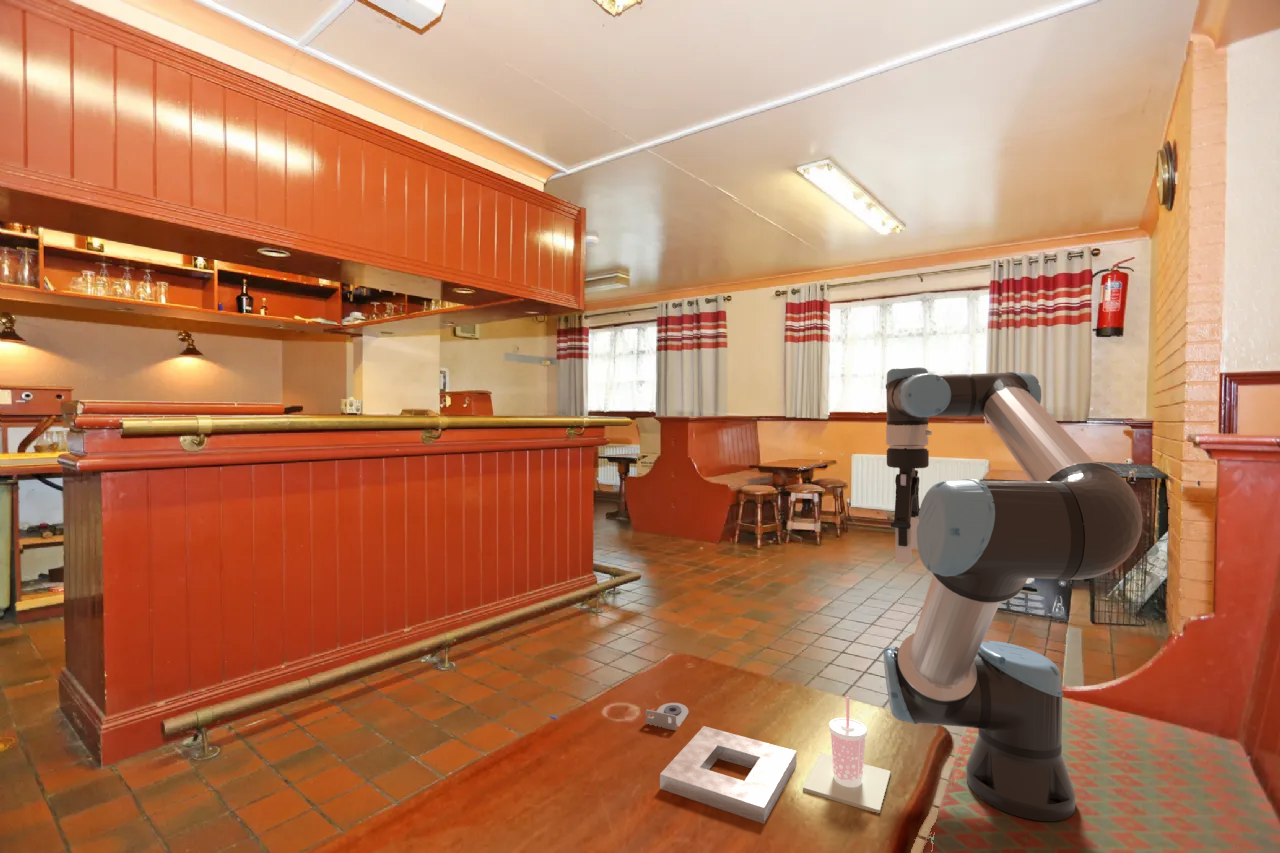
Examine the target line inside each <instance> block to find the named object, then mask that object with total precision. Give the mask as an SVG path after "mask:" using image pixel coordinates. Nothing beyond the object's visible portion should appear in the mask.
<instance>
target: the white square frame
mask: <svg viewBox="0 0 1280 853" xmlns="http://www.w3.org/2000/svg"><path fill="white" fill-rule="evenodd" d="M718 760H720V761H721V760H722V761H725V762H727V763H731V764H733V765H734V764H735V765H739V766H741V767H745V768H749V769H751V770H750V772H749V773H748V774H747V776H746V777H745V779H744V780H743V779H739V778H736V777H733V776H729V775H726V774H723V773H719V772H716V771H713V770H710V769H711V768H712V767H713V765H714V764H715V763H716V762H717V761H718ZM797 763H798V762H797V750H794V749H791V748H787V747H783V746H780V745H776V744H772V743H769V742H764V741H761V740H757V739H753V738H749V737H747V736H742V735H739V734H734V733H731V732H727V731H724V730H721V729H716V728H712V727H708V726H705V725H703V726H701V728H700V730H699V731H698V732H697V733H695V735H694V736H693V737H692V738H691V739H690V740H689V742H688V743H687V744H686V745H685V746H684V747H683V748H682V749H681V750H680V751H679V753H678V754H677V755H676V756H675V757H674V758H673V759H672V760H671V761H670V762H669V763H668V765H666V767H665V768H664V769H663V770H662V771H661V772H660V774H659V789H660V790H662V791H666V792H668V793H671V794H674V795H678V796H680V797H684V798H687V799H689V800H692V801H694V802H698V803H701V804H704V805H707V806H710V807H712V808H715V809H719V810H722V811H724V812H727V813H730V814H733V815H737V816H740V817H742V818H746V819H747V820H750V821H754V822H757V823H760V824H762V825H764V824H765V823H766V821H767V819H768V818H769V816H770V815H771V813H772V810H773V808H774V807H775V805H776V803H777V801H778V800H779V798H780V796H781V794H782V793H783V790H784V789H785V787H786V785H787V783H788V781H789V780H790V777H791V776H792V774H793V772H794V771H795V769H796V767H797Z"/></svg>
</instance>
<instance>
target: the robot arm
mask: <svg viewBox="0 0 1280 853" xmlns="http://www.w3.org/2000/svg"><path fill="white" fill-rule="evenodd" d="M1039 383H1040V382H1039V379H1038V378H1037V376H1035V375H1034V374H1032V373H1027V372H1025V373H1024V372H1016V371H1015V372H1014V371H1013V372H1012V371H1011V372H1010V371H1009V372H994V373H993V372H992V373H989V372H987V373H951V374H950V373H948V374H947V373H946V374H943V373H942V374H941V373H940V374H934V373H932V372H929V371H928V369H927V368H925V367H917V366H915V367H913V366H911V367H910V366H907V367H897V368H891V369H889V370H888V371H887V373H886V383H885V390H886V394H885V395H886V427H885V429H886V430H885V432H886V434H885V436H886V438H885V442H886V445H887V446H889V447H888V448H887V449H886V466H888V468H892V469H893V468H894V469H896V468H897V469H899V470H898V473H897V474H896V475H895V480H894V482H895V501H894V518H893V522H890V528H893V529H894V535H895V536H894V537H895V538H894V540H895V541H894V542H895V546H894V547H895V548H894V550H895V551H894V555H895V556H894V558H895V563H899V564H908V565H911V564H913V563H912V559H913V558H912V556H913V555H912V554H913V553H912V550H918V555H919V558H920V560H921V563H922V565H923V566H924V568H926V570H927V571H929V572H931V575H932V576H931V579H930V583H929V586H928V589H927V593H926V596H925V598H924V601H923V602H924V603H923V605H922V608H921V612H920V614H919V619H918V621H917V625H916V629H915V631H914V633H913V634H911V635H909V636H907V637H905V639H904V640H903V641H902V643H901V644H900V646H899V647H898V646H891V647H888V646H887V647H886V648H884V650H883V666H884V674H885V684H886V690H887V697H888V703H889V707H890V708H889V709H890V712H891V715H892V716H893V717H894V719H896V720H897V721H900V722H906V723H911V724H914V725H918V724H924V725H925V724H926V725H937V726H946V727H947V726H949V727H960V728H974V729H978V730H977V732H978V733H977V734H978V736H977V738H976V740H975V743H974V745H973V748H972V751H971V752H970V755H969V757H968V760H967V762H966V783H967V784H968V787H969V788H970V789H971V790H972V792H973V793H974V794H975V795H976V796H977V797H978V798H980V800H982V801H984V802H986V803H987V804H989V805H990V806H992V807H994V808H996V809H998V810H1000V811H1002V812H1004V813H1007V814H1010V815H1013V816H1016V817H1018V818H1021V819H1022V818H1023V819H1027V820H1032V821H1036V822H1037V821H1039V822H1057V821H1063V820H1066V819H1069V818H1070V817H1072V816H1073V815H1074V813H1075V811H1076V792H1075V788H1074V786H1073V783H1072V781H1071V778H1070V774H1069V771H1068V769H1067V766H1066V764H1065V760H1064V757H1063V754H1062V752H1063V751H1062V748H1063V746H1062V744H1063V743H1062V742H1063V741H1062V740H1063V739H1062V738H1063V736H1062V733H1063V732H1062V731H1063V730H1062V729H1063V723H1062V722H1063V697H1064V691H1063V687H1062V686H1063V685H1062V674H1061V670H1060V668H1059V667H1058V666H1057V664H1056V663H1054V662H1053V661H1052V660H1051V659H1050V658H1048V657H1047V656H1045V655H1043V654H1041V653H1038V652H1037V651H1034V650H1032V649H1029V648H1028V647H1027V648H1026V647H1022V646H1021V645H1020V646H1019V645H1017V644H1012V643H1010V642H1002V641H997V640H987V641H984V639H985V637H986V635H987V632H988V630H989V628H990V626H991V624H992V622H993V619H994V617H995V615H996V613H997V611H998V609H999V607H1000V604H1001V603H1004V602H1007V601H1008V602H1009V601H1010V600H1012V599H1014V598H1015V597H1016V596H1018V595H1019V594H1020V593H1021V591H1022V590H1023V589H1024V587H1025V584H1026V582H1027V581H1028V579H1043V580H1044V579H1046V580H1047V579H1048V580H1049V579H1051V580H1073V581H1074V580H1077V581H1078V580H1079V581H1081V580H1086V579H1093V578H1096V577H1099V576H1102V575H1104V574H1107V573H1109V572H1111V571H1113V570H1115V569H1116V568H1117V567H1119V566H1120V565H1122V564H1123V563H1124V562H1126V560H1128V558H1129V557H1130V556H1131V554H1132V553H1133V552H1134V551H1135V549H1136V547H1137V546H1138V543H1139V541H1140V538H1141V536H1142V531H1143V530H1142V529H1143V523H1144V522H1143V521H1144V519H1143V514H1142V513H1143V512H1142V508H1141V504H1140V502H1139V498H1138V496H1137V495H1136V493H1135V491H1134V490H1133V489H1132V487H1131V485H1130V484H1129V483H1128V482H1127V481H1126V480H1125V479H1124V478H1123V477H1122V476H1121V475H1120V473H1118V472H1117V471H1116V470H1115V469H1113V467H1110V466H1109V465H1106V464H1104V463H1100V462H1096V461H1094V459H1092V458H1091V457H1090V456H1089V455H1088V454H1087V452H1085V451H1084V449H1083V448H1082V447H1081V446H1080V445H1079V444H1078V443H1077V442H1076V441H1075V439H1074V438H1072V437H1071V435H1070V434H1069V433H1067V431H1066V430H1065V429H1064V428H1063V427H1062V426H1061V425H1060V424H1059V423H1058V422H1057V421H1056V420H1055V418H1053V417H1052V415H1050V413H1048V411H1047V410H1046V409H1045V408H1044V407H1043V406H1042V405H1041V401H1042V387H1041V385H1040V384H1039ZM937 417H939V418H941V417H944V418H945V417H984V419H985V420H986V421H987V422H988V423H989V424H990V426H991V428H992V429H993V431H994V432H995V433H996V435H997V436H998V437H999V439H1000V441H1002V443H1003V444H1004V445H1005V448H1007V450H1008V451H1009V453H1010V454H1011V455H1012V457H1013V459H1015V461H1016V462H1017V464H1018V465H1019V466H1020V468H1021V469H1022V470H1023V472H1024V474H1026V476H1027V478H1028V480H980V479H975V478H963V479H961V480H960V479H959V480H944V481H939V482H938V483H935V484H934V485H933V486H931V487H930V488H929V489H928V490H927V492H926V493H925V495H924V497H923V499H922V501H921V504H920V497H919V496H920V495H919V494H920V493H919V492H920V486H919V485H920V476H918V475H919V471H918V469H926V468H928V467H929V455H930V454H929V452H930V450H928V448H926V446H928V445H929V436H931V435H932V434H933V432H932V430H931V429H929V418H937Z"/></svg>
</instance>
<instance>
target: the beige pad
mask: <svg viewBox="0 0 1280 853" xmlns="http://www.w3.org/2000/svg"><path fill="white" fill-rule="evenodd" d="M890 774H891V770H888V769H884V768H880V767H877V766H873V765H869V764H865V763H864V764H863V779H862V784H861V785H860V786H858V787H846V786H843V785H841V784H839V783H837V782H836V781H835V779H834V773H833V757H832V754H829V753H823V752H819V754H818V756H817V758H816V761H815V762H814V765H813V767H812V768H811V770H810V772H809V775H808V776H807V779H806V781H805V783H804V784H803V786H802V791H803V792H805V793H808V794H812V795H815V796H818V797H822V798H825V799H829V800H832V801H836V802H839V803H841V804H845V805H849V806H852V807H855V808H859V809H861V810H864V809H865V811H868V810H869V811H868V812H871V811H872V812H871V813H874V812H878V813H880V814H881V812H880V811H882V808H883V805H882V803H883V804H884V801H883V799H884V800H885V797H886V794H885V792H886V793H887V790H886V789H888V786H887V785H889V783H888V782H890V779H889V778H890V777H891V775H890ZM884 796H885V797H884ZM881 807H882V808H881ZM878 813H877V814H878Z"/></svg>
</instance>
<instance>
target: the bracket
mask: <svg viewBox="0 0 1280 853" xmlns="http://www.w3.org/2000/svg"><path fill="white" fill-rule="evenodd" d="M650 715H651V717H650ZM688 715H689V708H688V707H687V706H686V705H685V704H683V703H680V702H668V703H664V704H662V705H660V706H659V707H658V708H657V710H651V709H646V710H645V724H646V725H648V724H649V726H652V725H654V726H653V727H657V726H658V728H661V727H662V729H666V730H670V731H674V732H675V731H677V727H681V725H682V724H683V723H682V722H684V721H685V720H686V719H687V717H688Z"/></svg>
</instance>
